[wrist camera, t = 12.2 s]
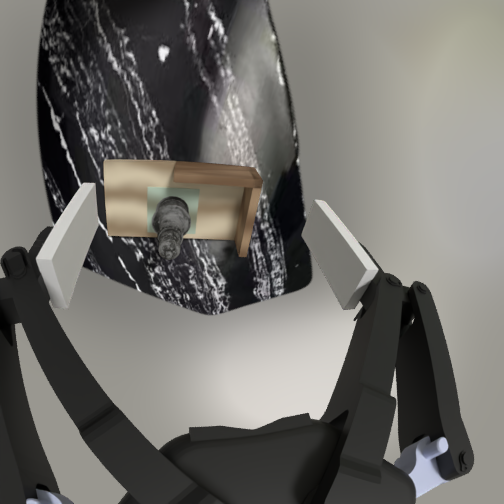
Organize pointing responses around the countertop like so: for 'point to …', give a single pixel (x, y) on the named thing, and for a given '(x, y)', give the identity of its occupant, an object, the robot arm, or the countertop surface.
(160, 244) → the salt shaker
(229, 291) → the countertop surface
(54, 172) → the countertop surface
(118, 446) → the robot arm
